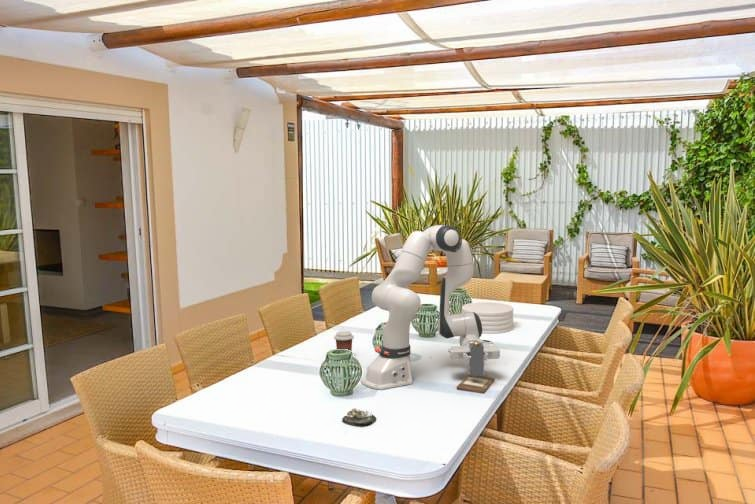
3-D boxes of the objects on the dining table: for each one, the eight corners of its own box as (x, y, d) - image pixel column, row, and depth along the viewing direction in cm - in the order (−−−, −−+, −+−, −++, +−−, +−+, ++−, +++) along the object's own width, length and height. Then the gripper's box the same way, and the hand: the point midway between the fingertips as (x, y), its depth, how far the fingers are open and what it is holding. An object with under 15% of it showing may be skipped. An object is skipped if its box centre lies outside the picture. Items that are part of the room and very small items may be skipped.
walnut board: (483, 393, 229) (483, 390, 229) (456, 389, 234) (456, 386, 234) (494, 380, 244) (494, 377, 244) (468, 377, 248) (468, 373, 248)
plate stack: (502, 336, 311) (502, 315, 309) (453, 330, 325) (453, 309, 324) (520, 325, 334) (520, 305, 333) (473, 319, 349) (473, 300, 347)
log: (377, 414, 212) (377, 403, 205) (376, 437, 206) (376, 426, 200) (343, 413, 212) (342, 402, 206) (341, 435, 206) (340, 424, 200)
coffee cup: (341, 353, 284) (340, 329, 283) (357, 356, 280) (357, 331, 278) (330, 359, 276) (330, 334, 275) (347, 361, 272) (347, 336, 271)
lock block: (471, 375, 236) (470, 344, 234) (469, 371, 241) (469, 340, 239) (483, 375, 236) (483, 343, 234) (481, 371, 241) (481, 340, 239)
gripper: (447, 341, 250) (450, 351, 237) (496, 340, 250) (502, 350, 236) (447, 356, 251) (450, 366, 238) (496, 355, 251) (502, 366, 237)
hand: (476, 358), depth 237 cm, fingers closed on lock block, 5 cm apart
